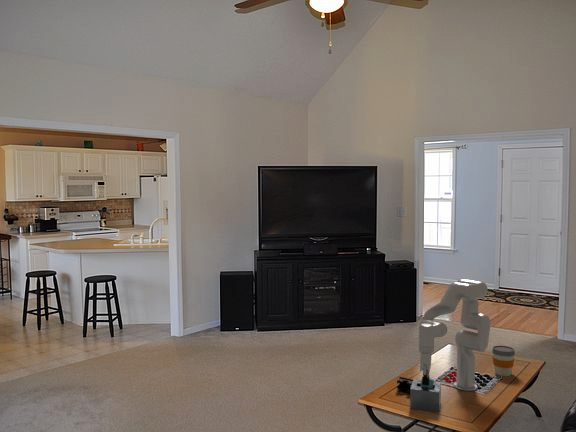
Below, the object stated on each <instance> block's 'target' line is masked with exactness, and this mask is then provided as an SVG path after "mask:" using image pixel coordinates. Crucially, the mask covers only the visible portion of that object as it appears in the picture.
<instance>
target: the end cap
mask: <svg viewBox="0 0 576 432" xmlns="http://www.w3.org/2000/svg"><path fill="white" fill-rule="evenodd" d="M412 382H413V378H409V377H404V376H399V379H397V381H396V384H398V385H396V389H397V390H396V391H397V392H399V393H403V394H409V395H410V389H411V385H412Z"/></svg>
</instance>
